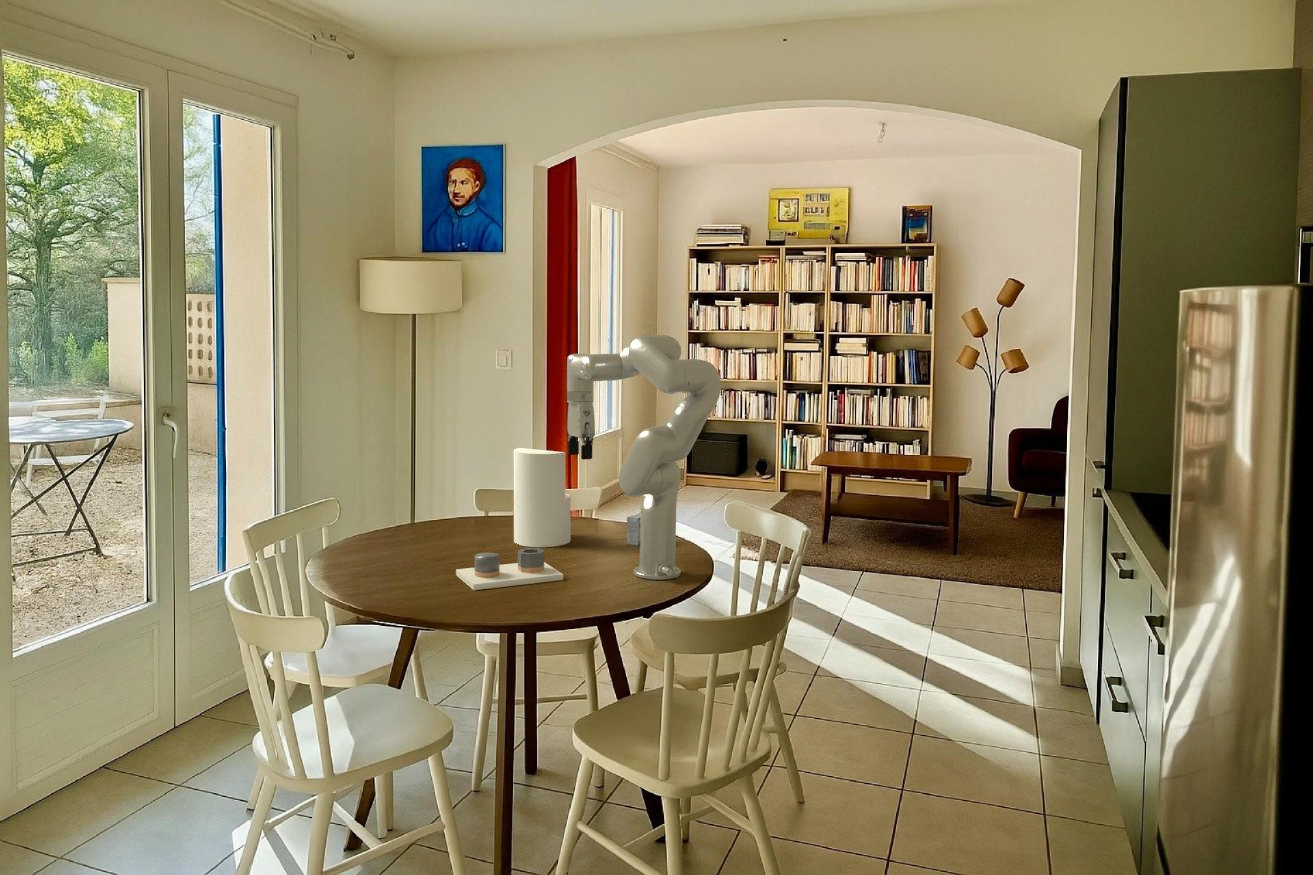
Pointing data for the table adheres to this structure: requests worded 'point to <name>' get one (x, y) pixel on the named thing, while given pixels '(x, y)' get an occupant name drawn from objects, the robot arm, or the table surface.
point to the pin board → (502, 573)
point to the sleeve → (531, 560)
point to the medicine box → (633, 530)
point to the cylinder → (540, 499)
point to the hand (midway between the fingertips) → (580, 456)
